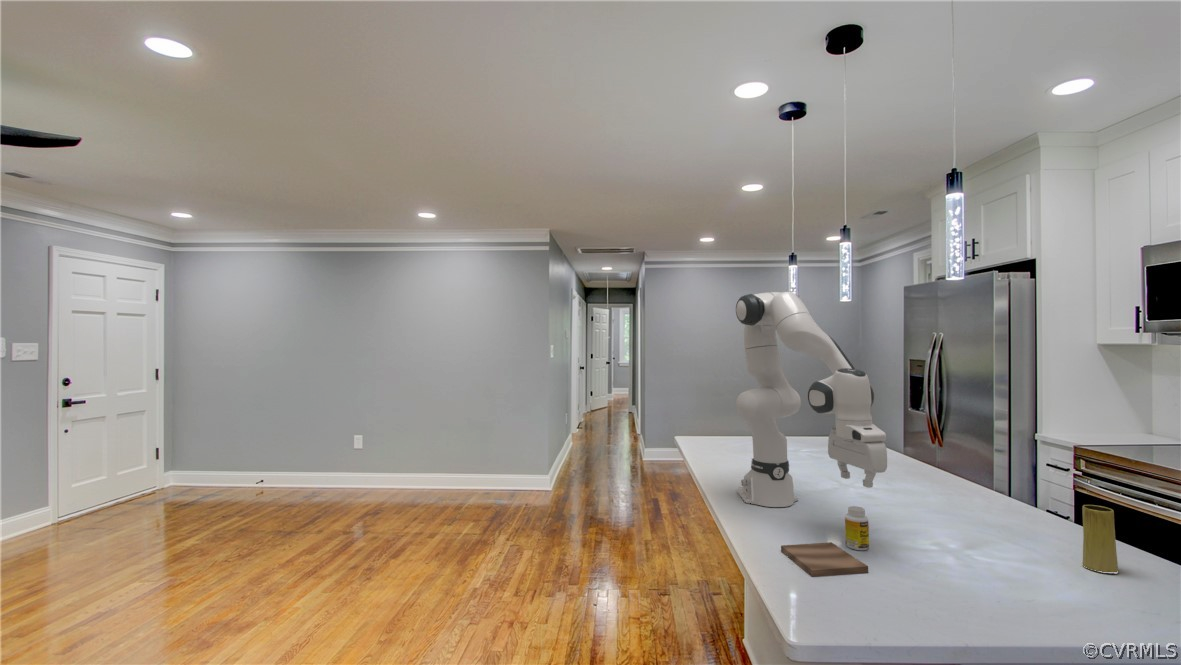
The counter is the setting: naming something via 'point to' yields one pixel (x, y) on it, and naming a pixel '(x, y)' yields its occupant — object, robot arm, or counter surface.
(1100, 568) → the vase
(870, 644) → the counter surface
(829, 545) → the walnut board
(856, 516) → the supplement bottle
